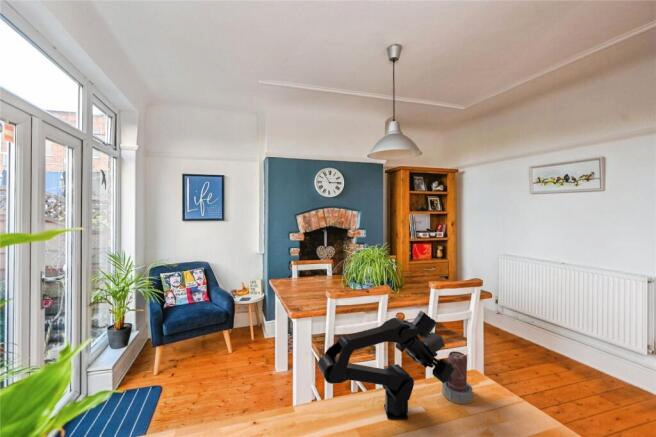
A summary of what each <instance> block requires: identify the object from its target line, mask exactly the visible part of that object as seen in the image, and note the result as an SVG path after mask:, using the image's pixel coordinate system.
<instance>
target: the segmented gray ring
mask: <svg viewBox="0 0 656 437" xmlns="http://www.w3.org/2000/svg"><path fill="white" fill-rule="evenodd" d="M441 383H442V382H441ZM441 387H442V388H441V394H442V396H443V397H444V399H446V400H447V401H449V402H451V403H453V404H456V405H460V406H461V405H464V406H465V405H469V404H471V403H472V402H473V386H472V385H471V384H470V383H469V382H467V385H466V392H456V391H453V390H451V389H449V388H448V382H445V383H442V386H441Z"/></svg>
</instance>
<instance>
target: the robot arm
mask: <svg viewBox="0 0 656 437" xmlns="http://www.w3.org/2000/svg"><path fill="white" fill-rule="evenodd" d="M437 324H438V322H437V321H436V320H435V319H433V318H432V317H430V315H428V314H427V313H426V312H424V311H422V310H420V311H419V312H418V314H417V316H415V319H414V320H413V321H411V322H410V321H408V320H407V319H405V320H404V319H403V320H402V319H399V318H398V317H392V318H390V319H388V320H386V321H384V322H383V323H382V324H381V325H378V326H376V327H372V328H369V329H366V330H361V331H357V332H353V333H350V334H342V335H340V337H338V339H337V340H336V342H334V343H333V344H332V345H331V346H329V347H328V348H327V350H326V351H325V352H324V354H323V355H322V356H321V357H320V358H319V360H318V362H317V368H318V370H319V372H320V373H321V375H322V376H323V378H324V379H325V382H326V383H328V384H331V385H336V384H343V383H345V382H347V381H354V382H360V383H365V384H366V383H367V384H372V385H380V386H382V389H384V390H385V391H384V392H385V393H384V396H385V397H384V398H385V400H384V402H385V403H384V404H383V407H384V411H385V415H386V417H387V419H388V420H408V413H409V401H410V399H411V396H412V392H413V390H414V389H413V388H414V386H415V382H414V378H413V377H412V376H411V375H410V374H409V372H407V371H406V370H405V368H403V367H402V366H400V364H398V363H397V364H393V363H388V367H386V368H379V367H374V366H367V365H363V364H357V363H352V362H351V363H350V359H351V356H352V355H353V353H354V351H357V350H362V349H365V348H369V347H372V346H375V345H380V344H383V343H395V348H396V350H398V351H399V352H401V353H403V352H404V351H405V354H406V355H407V356H408V357H409V358H410V359H411V360H413V361H414V362H416V363H418V364H420V365H421V366H423V367H424V368H425V369H427V368H431V369H432V368H433V369H432V370H431V371H432V372H431V374H432V375H433V377H435V378H436V379H437V380H438V381H439V382H441V383H445V382H452V380H453V379H452V376H451V374H452V372H453V371H454V370H455V368H454V366H453V365H452V364H451V363H449V362H448V360H446V359H445V358H441V359H437V356H438V353H437V352H438V351H440V350H441V349H443V348H445V347H446V344H445V342H444V339H443V336H442V335H439V333H437V332H433V330H434V328H435V327H436V326H437ZM421 338H423V339H421ZM337 355H338V356H337Z"/></svg>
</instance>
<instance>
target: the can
mask: <svg viewBox="0 0 656 437" xmlns="http://www.w3.org/2000/svg"><path fill="white" fill-rule="evenodd" d="M447 361H448V362H449V363H451V364H452V365H453V366H454V368H455V370H454V371H453V372H452V374H451V376H452V379H453V380H452V382H448V388H449V389H451V390H453V391H456V392H466V385H467V383H468V382H467V380H468V378H467V376H468V375H467V374H468V356H467V355H466V354H465V353H463V352H460V351H454V350H453V351H450V352H449V353H448V355H447Z"/></svg>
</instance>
